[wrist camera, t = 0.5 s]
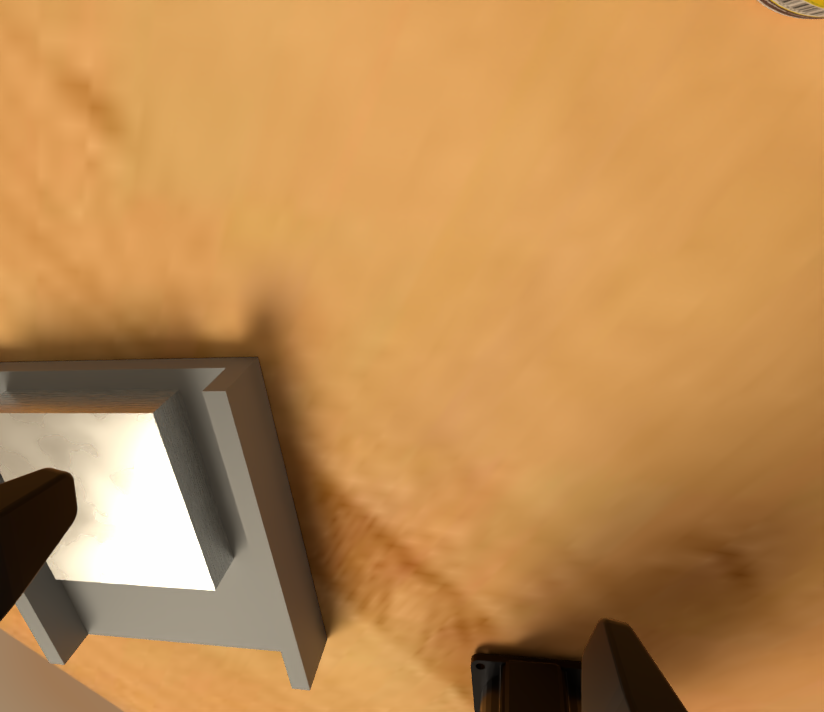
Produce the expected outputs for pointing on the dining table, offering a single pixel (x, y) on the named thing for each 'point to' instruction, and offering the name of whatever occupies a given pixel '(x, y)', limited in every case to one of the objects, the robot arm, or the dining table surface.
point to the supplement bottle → (796, 8)
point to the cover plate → (121, 484)
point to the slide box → (239, 510)
